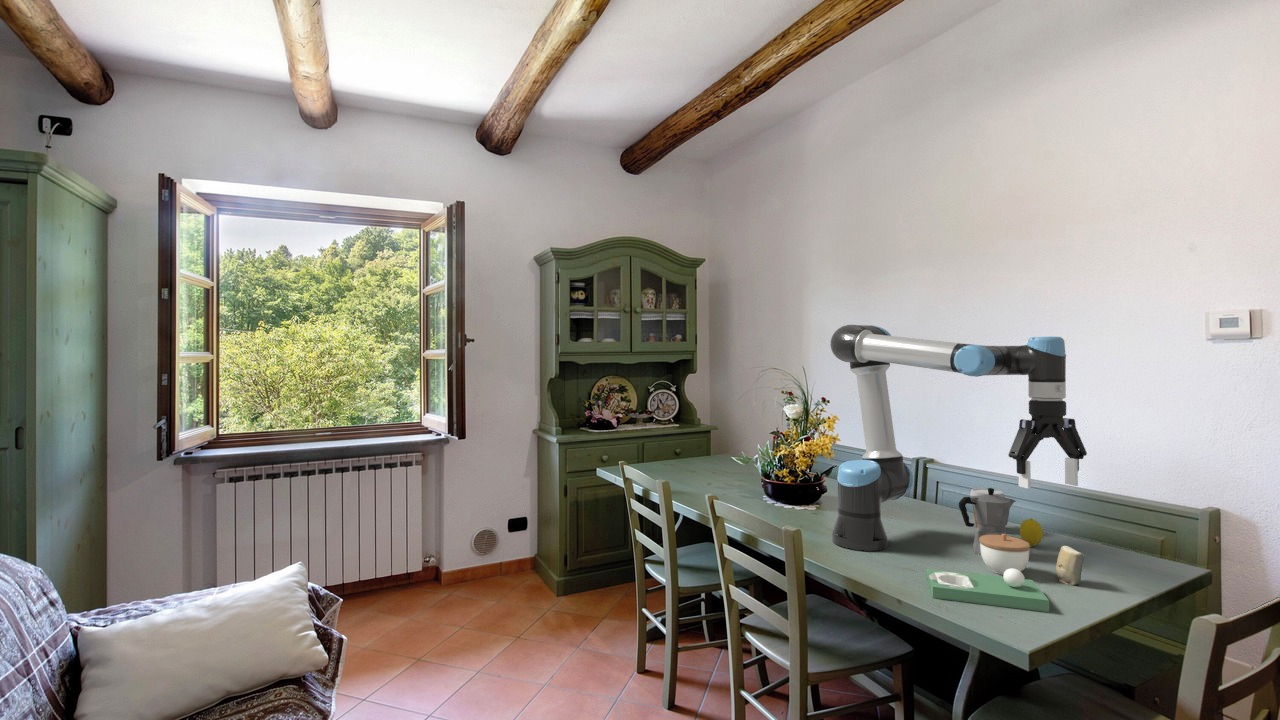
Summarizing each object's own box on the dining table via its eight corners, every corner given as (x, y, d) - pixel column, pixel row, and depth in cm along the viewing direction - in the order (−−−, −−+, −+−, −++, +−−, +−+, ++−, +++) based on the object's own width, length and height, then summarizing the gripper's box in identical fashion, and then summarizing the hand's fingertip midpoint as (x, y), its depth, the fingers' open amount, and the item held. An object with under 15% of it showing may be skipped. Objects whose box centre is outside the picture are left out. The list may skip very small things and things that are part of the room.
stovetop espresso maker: (1012, 533, 176) (1011, 494, 176) (980, 533, 176) (980, 494, 176) (993, 524, 185) (993, 487, 185) (963, 524, 185) (963, 487, 185)
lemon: (1035, 543, 166) (1035, 515, 166) (1047, 549, 161) (1047, 521, 161) (1015, 543, 167) (1015, 515, 167) (1026, 549, 161) (1026, 520, 161)
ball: (1005, 588, 127) (1005, 570, 127) (1001, 582, 131) (1001, 564, 131) (1026, 591, 126) (1026, 573, 126) (1021, 584, 129) (1021, 566, 129)
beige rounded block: (1089, 584, 136) (1089, 550, 136) (1079, 588, 133) (1078, 554, 133) (1062, 576, 141) (1061, 543, 141) (1051, 580, 138) (1051, 547, 138)
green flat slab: (932, 597, 129) (932, 586, 129) (926, 578, 140) (926, 568, 140) (1049, 612, 121) (1049, 600, 121) (1032, 590, 132) (1032, 580, 132)
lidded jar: (1031, 582, 137) (1030, 543, 137) (979, 574, 143) (978, 536, 143) (1029, 568, 146) (1028, 532, 146) (980, 561, 152) (979, 525, 152)
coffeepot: (1004, 547, 163) (1004, 484, 163) (1026, 559, 153) (1026, 491, 153) (950, 548, 163) (949, 484, 163) (969, 559, 153) (968, 492, 153)
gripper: (1016, 401, 135) (1017, 491, 134) (1104, 399, 139) (1105, 486, 139) (991, 399, 142) (992, 485, 142) (1075, 397, 147) (1076, 480, 147)
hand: (1048, 486), depth 141 cm, fingers open, 13 cm apart
